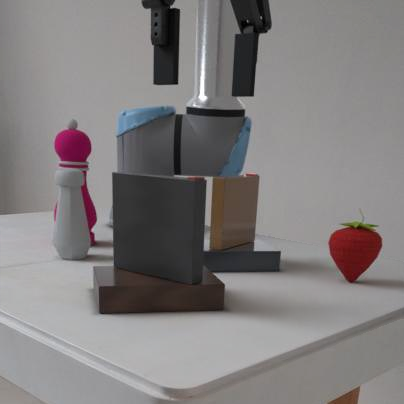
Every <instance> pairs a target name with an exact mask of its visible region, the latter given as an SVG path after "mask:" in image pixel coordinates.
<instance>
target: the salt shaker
mask: <svg viewBox="0 0 404 404" xmlns="http://www.w3.org/2000/svg"><path fill="white" fill-rule="evenodd" d="M54 182H55V185H57V186H59V187H58V188H59V189H58V197H57V198H58V199H57V201H58V204H57V203H56V204H57V212H56V220H55V221H54V229H53V238H52V244H53V245H52V246H53V247H54V249H55V251H56V252H57V254H58V256H59V258H60V259H61V260H70V261H71V260H72V261H73V260H84V259H85V258H86V257H87V255H88V252H89V250H90V248H91V246H92V245H91V238H90V233H89V228H88V223H87V217H86V212H85V207H84V202H83V196H82V191H81V186H83V185H84V173H83V172H82V171H81V170H79V169H70V168H64V169H59V168H58V169H57V170H56V171H55V172H54Z"/></svg>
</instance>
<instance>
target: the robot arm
mask: <svg viewBox="0 0 404 404" xmlns="http://www.w3.org/2000/svg"><path fill="white" fill-rule="evenodd" d="M175 2H176V0H141V5H142V7H143V8H144V9H145V10H148V9H149V10H150V42H151V45H152V46H153V68H152V69H153V70H152V72H153V74H152V76H153V77H152V79H153V80H152V84H153V85H154V86H179V74H180V73H179V72H180V71H179V70H180V69H179V67H180V35H181V34H180V32H181V31H180V28H181V9H180V8H177V7H172V6H173V5H174V4H175ZM195 25H196V27H195V28H196V30H195V33H196V34H195V58H194V59H195V60H194V61H195V62H194V92H193V97H191V99H190V100H189V101H187V103H186V104H185V109H186V110H185V113H183V114H182V113H177V110H176V106H174V105H156V106H145V107H143V106H142V107H136V108H128V109H125V110H122V111H121V112H120V113H119V114H118V116H117V120H116V134H115V138H116V169H117V171H116V172H133V173H143V174H154V175H164V176H174V177H175V176H179V177H197V176H198V177H205V178H206V177H207V178H213V177H221V176H236V175H241V173H242V172H243V170H244V166H245V163H246V157H247V153H248V149H249V144H250V137H251V131H252V125H253V119H252V118H251V117H250V116H249V115H246V106H245V104H244V103H243V102H242V101H241V99H240V98H246V97H247V98H249V97H251V98H253V97H255V88H256V87H255V85H256V72H257V63H258V54H259V52H258V51H259V41H260V35H264V34H267V33H268V32H269V31H270V30H272V26H273V21H272V15H271V9H270V1H269V0H196V24H195ZM108 225H109V226H110V227H112V228H113V203H112V205H111V208H110V211H109V217H108Z"/></svg>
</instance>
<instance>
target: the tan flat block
mask: <svg viewBox="0 0 404 404" xmlns="http://www.w3.org/2000/svg"><path fill="white" fill-rule="evenodd" d="M211 184H212V185H211V205H210V226H209V239H210V245H209V248H210V249H216V250H223V249H227V248H231V247H234V246H238V245H241V244H245V243H249V242H252V241H255V239H256V229H257V227H256V226H257V215H258V204H259V203H258V201H259V190H260V175H259V173H251V172H246V173H245V174H240V175H236V176H221V177H212V183H211Z"/></svg>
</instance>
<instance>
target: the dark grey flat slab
mask: <svg viewBox="0 0 404 404" xmlns="http://www.w3.org/2000/svg"><path fill="white" fill-rule="evenodd" d="M111 180H112V181H111V187H112V189H111V190H112V191H111V193H112V197H111V199H112V204H113V227H112V252H113V253H112V259H113V266H114V267H115V268H120V269H124V270H129V271H133V272H138V273H142V274H146V275H151V276H155V277H160V278H164V279H169V280H173V281H177V282H182V283H186V284H191V285H192V284H196V283H200V282H202V278H203V255H204V239H205V232H206V231H205V230H206V229H205V228H206V208H207V184H208V180H207V179H206V177H202V176H187V177H185V176H175V175H174V176H164V175H154V174H143V173H133V172H117V171H112V172H111Z"/></svg>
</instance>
